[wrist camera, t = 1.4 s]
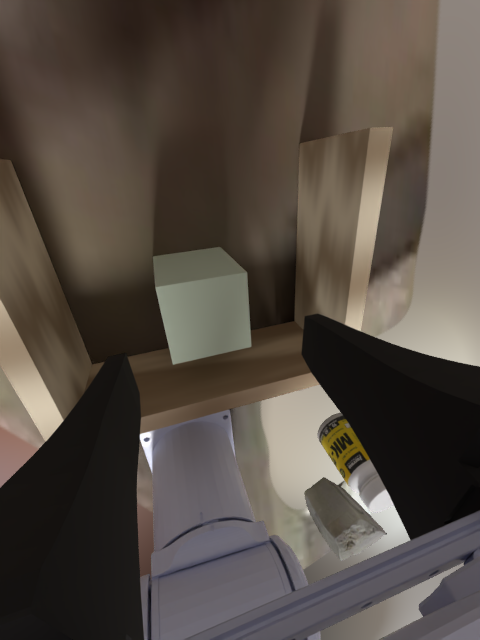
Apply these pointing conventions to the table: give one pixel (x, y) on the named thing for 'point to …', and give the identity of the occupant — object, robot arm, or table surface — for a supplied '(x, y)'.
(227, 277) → the sage block
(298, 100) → the table surface
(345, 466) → the supplement bottle
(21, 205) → the open box
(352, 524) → the mineral specimen
